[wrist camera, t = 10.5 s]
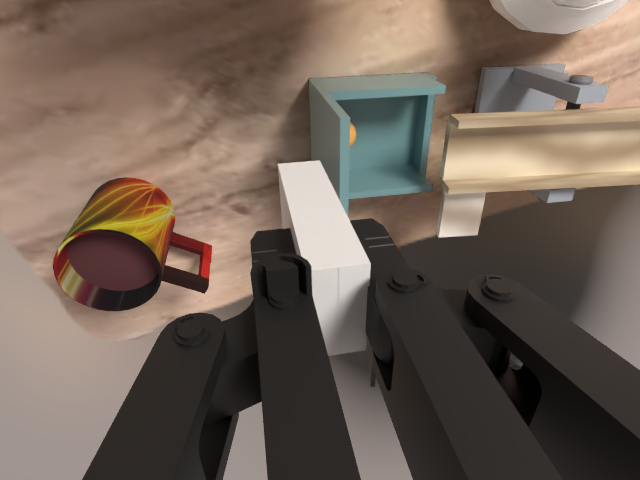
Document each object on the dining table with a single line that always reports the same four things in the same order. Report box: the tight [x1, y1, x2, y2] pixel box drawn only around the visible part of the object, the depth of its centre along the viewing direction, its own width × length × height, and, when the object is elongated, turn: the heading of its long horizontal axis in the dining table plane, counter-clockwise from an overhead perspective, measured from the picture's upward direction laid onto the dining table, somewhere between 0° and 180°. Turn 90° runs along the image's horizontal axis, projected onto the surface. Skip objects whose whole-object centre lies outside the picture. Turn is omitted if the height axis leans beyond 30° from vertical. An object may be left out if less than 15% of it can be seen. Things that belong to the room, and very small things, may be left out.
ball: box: [350, 122, 356, 147], centre depth 48 cm, size 4×4×4 cm
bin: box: [309, 72, 446, 216], centre depth 44 cm, size 12×14×16 cm
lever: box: [436, 102, 640, 237], centre depth 45 cm, size 14×27×4 cm, turn 91°
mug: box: [53, 178, 212, 311], centre depth 47 cm, size 10×14×12 cm
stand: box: [474, 63, 609, 203], centre depth 48 cm, size 13×10×12 cm
